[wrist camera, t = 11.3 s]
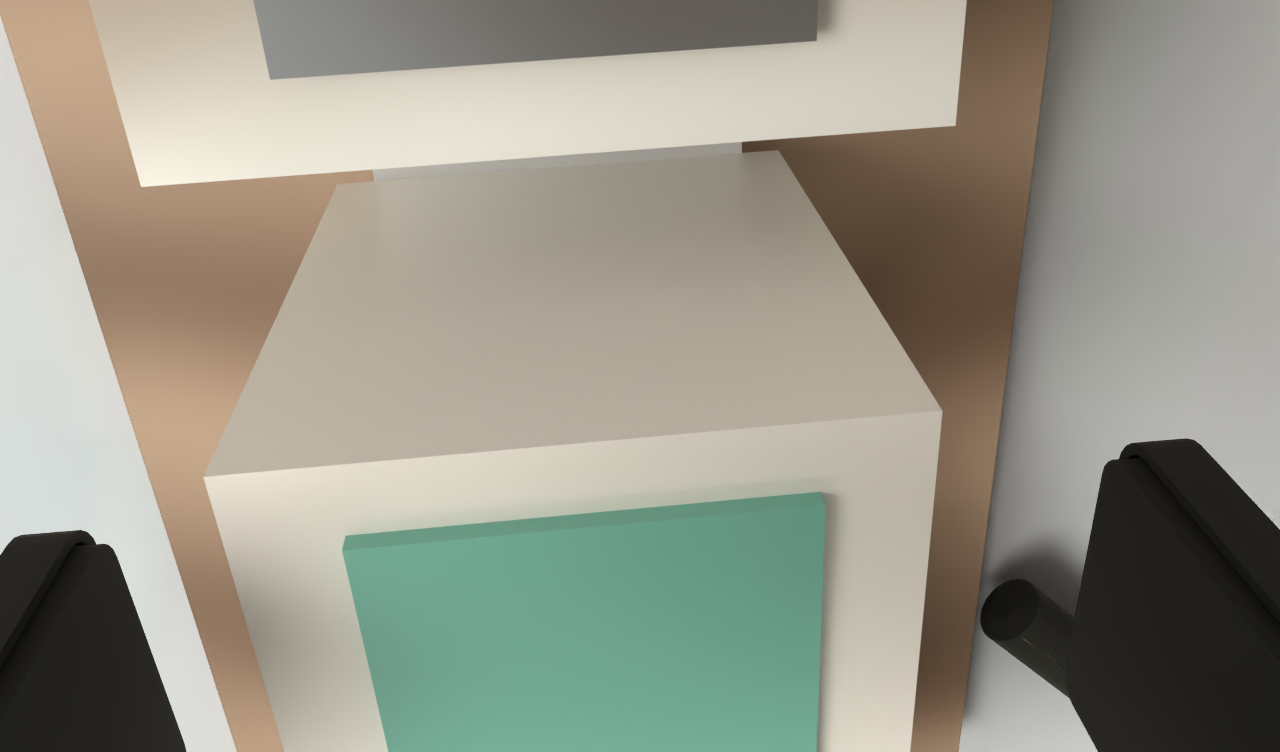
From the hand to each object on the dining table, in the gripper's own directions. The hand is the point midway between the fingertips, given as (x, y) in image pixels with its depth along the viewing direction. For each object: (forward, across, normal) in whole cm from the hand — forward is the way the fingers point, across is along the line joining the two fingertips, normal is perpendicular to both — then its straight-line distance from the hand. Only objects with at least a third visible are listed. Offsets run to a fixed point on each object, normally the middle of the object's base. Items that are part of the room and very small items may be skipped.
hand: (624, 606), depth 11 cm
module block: (+6, 0, 0) cm, 6 cm away
